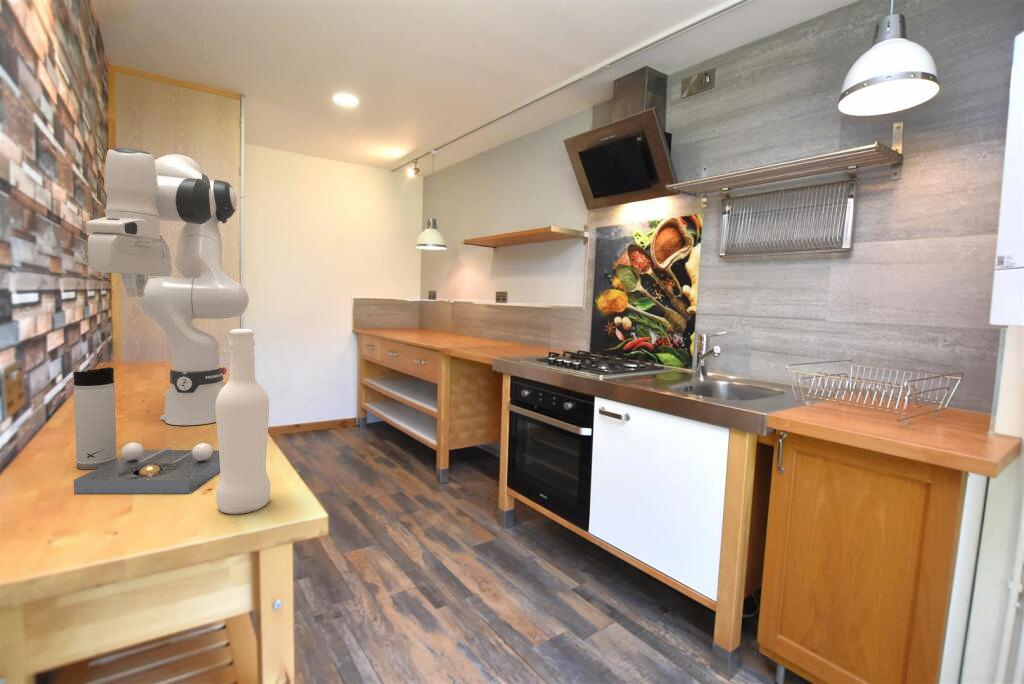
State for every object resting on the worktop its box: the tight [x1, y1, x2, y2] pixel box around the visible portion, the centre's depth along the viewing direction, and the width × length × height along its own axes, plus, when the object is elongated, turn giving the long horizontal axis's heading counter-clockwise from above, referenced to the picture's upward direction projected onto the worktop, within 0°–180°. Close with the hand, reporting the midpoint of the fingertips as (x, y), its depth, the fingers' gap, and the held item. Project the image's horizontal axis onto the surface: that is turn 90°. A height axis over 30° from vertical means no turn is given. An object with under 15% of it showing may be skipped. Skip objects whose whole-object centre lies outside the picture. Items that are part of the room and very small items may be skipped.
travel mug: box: [73, 366, 118, 470], centre depth 100 cm, size 6×7×20 cm
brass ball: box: [138, 465, 161, 475], centre depth 92 cm, size 4×4×4 cm
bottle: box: [215, 328, 272, 515], centre depth 83 cm, size 8×8×30 cm
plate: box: [73, 446, 220, 495], centre depth 95 cm, size 17×19×3 cm
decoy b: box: [120, 441, 144, 461], centre depth 96 cm, size 4×4×4 cm
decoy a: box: [192, 442, 214, 461], centre depth 98 cm, size 4×4×4 cm
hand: (135, 296), depth 103 cm, fingers closed
